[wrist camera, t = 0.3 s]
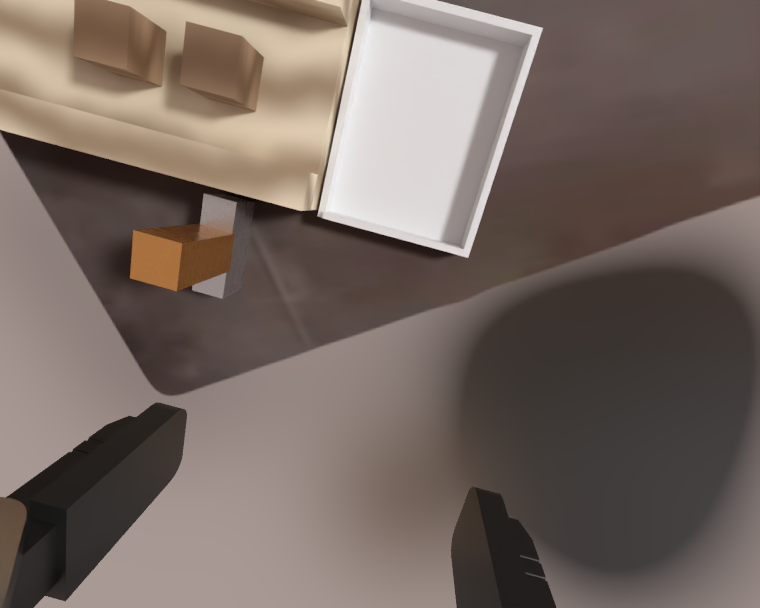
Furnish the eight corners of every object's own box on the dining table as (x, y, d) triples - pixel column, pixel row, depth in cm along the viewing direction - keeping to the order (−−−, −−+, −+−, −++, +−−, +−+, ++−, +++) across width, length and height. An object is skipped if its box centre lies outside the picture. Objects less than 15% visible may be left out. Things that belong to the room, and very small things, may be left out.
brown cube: (215, 44, 30) (185, 21, 26) (264, 57, 30) (241, 35, 26) (208, 99, 31) (179, 84, 27) (255, 111, 31) (233, 98, 27)
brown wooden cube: (118, 18, 30) (74, -9, 26) (166, 31, 30) (130, 6, 26) (115, 74, 31) (73, 56, 27) (162, 86, 31) (126, 70, 27)
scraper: (223, 193, 37) (136, 189, 25) (257, 203, 37) (186, 203, 25) (211, 280, 39) (127, 313, 28) (243, 289, 39) (172, 326, 28)
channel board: (45, -76, 32) (-52, -150, 25) (363, 7, 32) (350, -45, 25) (44, 134, 37) (-39, 119, 30) (321, 209, 36) (300, 211, 30)
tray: (368, 1, 32) (364, -19, 29) (530, 44, 31) (542, 28, 29) (323, 215, 36) (315, 216, 34) (463, 253, 36) (468, 257, 33)
